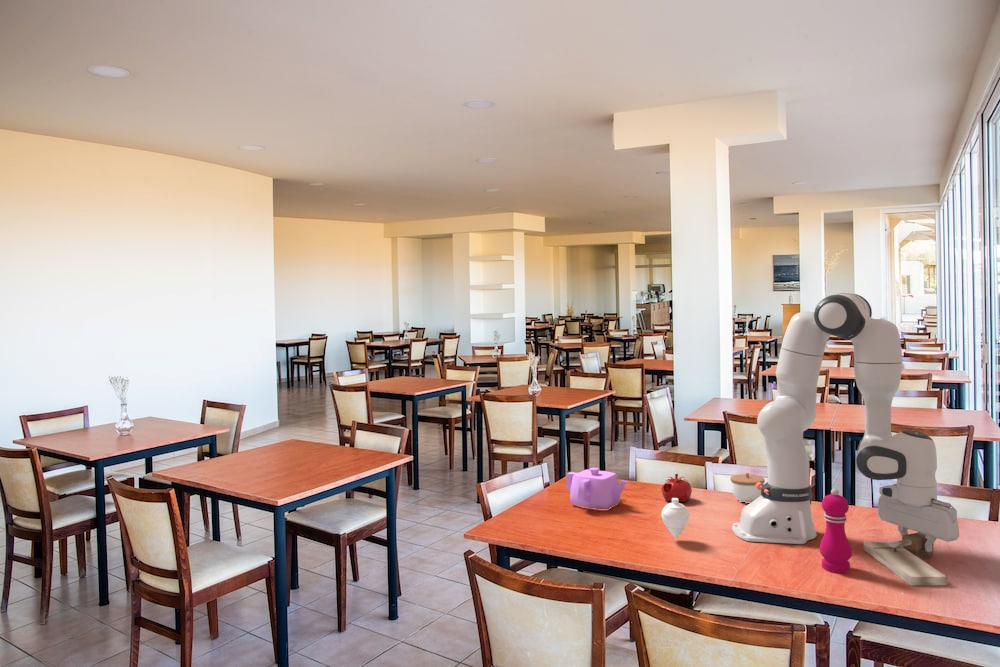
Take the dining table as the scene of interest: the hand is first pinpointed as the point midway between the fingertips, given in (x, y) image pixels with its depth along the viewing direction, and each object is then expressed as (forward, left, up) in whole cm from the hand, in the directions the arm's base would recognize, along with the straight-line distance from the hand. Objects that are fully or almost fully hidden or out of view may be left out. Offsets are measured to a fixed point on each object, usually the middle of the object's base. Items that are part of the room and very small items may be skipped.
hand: (917, 547), depth 175 cm
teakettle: (-78, +49, -2) cm, 92 cm away
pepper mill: (-24, -8, -2) cm, 25 cm away
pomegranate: (-51, +52, -2) cm, 73 cm away
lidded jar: (-28, +50, -2) cm, 57 cm away
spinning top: (-59, +13, -2) cm, 60 cm away
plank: (-7, -7, -2) cm, 10 cm away
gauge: (-2, -1, -2) cm, 3 cm away
